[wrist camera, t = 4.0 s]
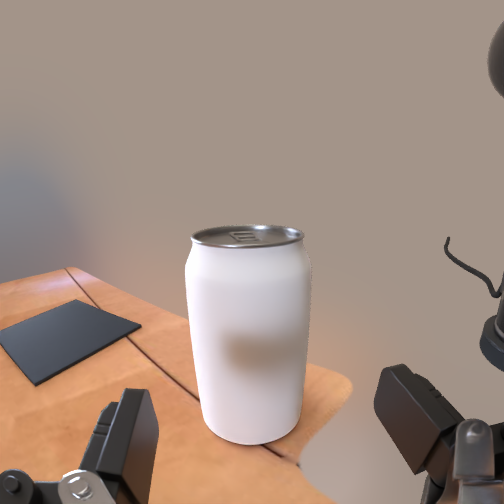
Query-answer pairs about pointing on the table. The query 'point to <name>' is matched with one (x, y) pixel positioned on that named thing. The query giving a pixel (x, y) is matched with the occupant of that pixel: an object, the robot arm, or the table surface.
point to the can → (249, 328)
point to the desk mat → (62, 338)
